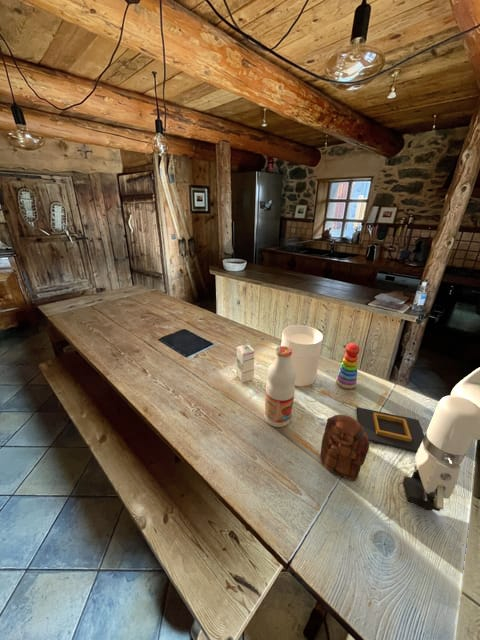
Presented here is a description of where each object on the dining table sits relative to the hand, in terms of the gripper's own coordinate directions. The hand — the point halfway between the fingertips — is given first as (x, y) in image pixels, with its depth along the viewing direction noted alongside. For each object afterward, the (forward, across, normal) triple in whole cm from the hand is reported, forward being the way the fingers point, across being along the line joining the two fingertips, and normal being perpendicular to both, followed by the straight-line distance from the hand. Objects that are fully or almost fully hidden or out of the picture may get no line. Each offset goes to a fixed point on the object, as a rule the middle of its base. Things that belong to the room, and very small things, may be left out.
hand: (420, 494), depth 68 cm
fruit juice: (+2, +17, +40) cm, 43 cm away
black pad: (0, 0, 0) cm, 0 cm away
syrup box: (+2, +35, +57) cm, 66 cm away
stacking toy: (+3, +44, +16) cm, 47 cm away
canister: (+2, +44, +36) cm, 56 cm away
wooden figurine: (+2, +4, +20) cm, 20 cm away
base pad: (+3, +23, +3) cm, 23 cm away
